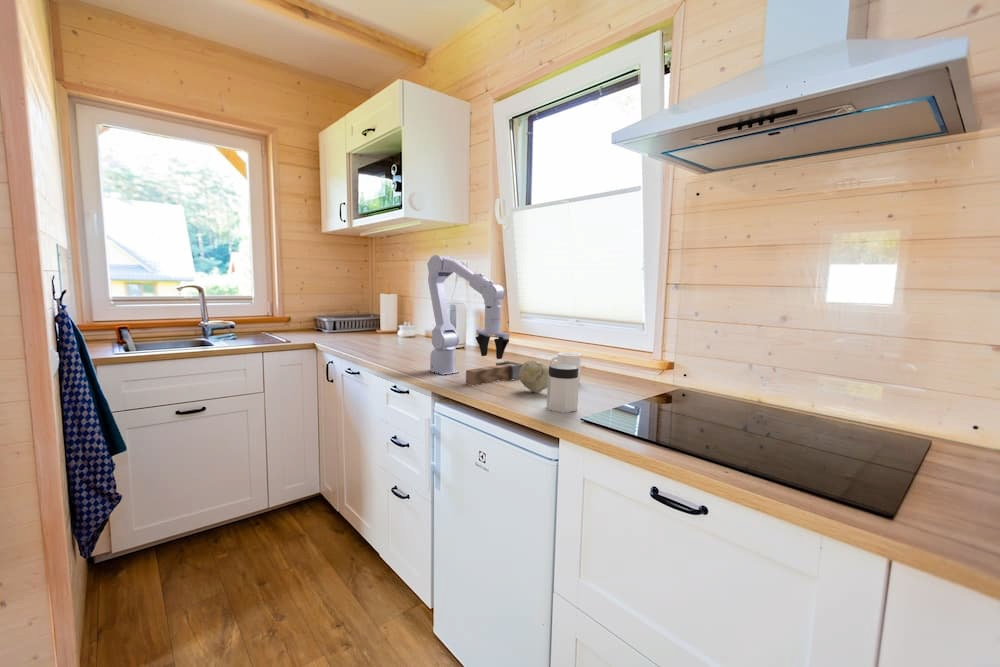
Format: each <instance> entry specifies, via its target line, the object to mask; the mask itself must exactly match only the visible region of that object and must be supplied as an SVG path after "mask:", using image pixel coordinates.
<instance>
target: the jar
mask: <svg viewBox="0 0 1000 667" xmlns="http://www.w3.org/2000/svg"><path fill="white" fill-rule="evenodd" d="M579 384H580V381H579V378H578V367H577V366H573V365H567V364H557V363H555V364H554V363H553V365H550V364H549V374H548V387H547V388H546V389H547V391H546V392H547V395H546V407H547V409H548V410H549V411H550V410H552V411H551V412H555V411H558V412H557V413H561V412H564V413H563V414H566V412H568V413H573V412H572V411H574V412H577V411H578V403H579V402H578V401H579V386H580V385H579Z"/></svg>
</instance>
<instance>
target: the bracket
mask: <svg viewBox="0 0 1000 667" xmlns="http://www.w3.org/2000/svg"><path fill="white" fill-rule="evenodd" d="M503 364H515V365H512V366H510V373H509V379H508V380H510V379H515V380H518V379H517V378H519V370H520V368H521V366H522V365H523V364H524V363H521V362H515V361H512V360H511V361H510V360H505V361H500V362H495V366H497V365H503Z"/></svg>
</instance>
